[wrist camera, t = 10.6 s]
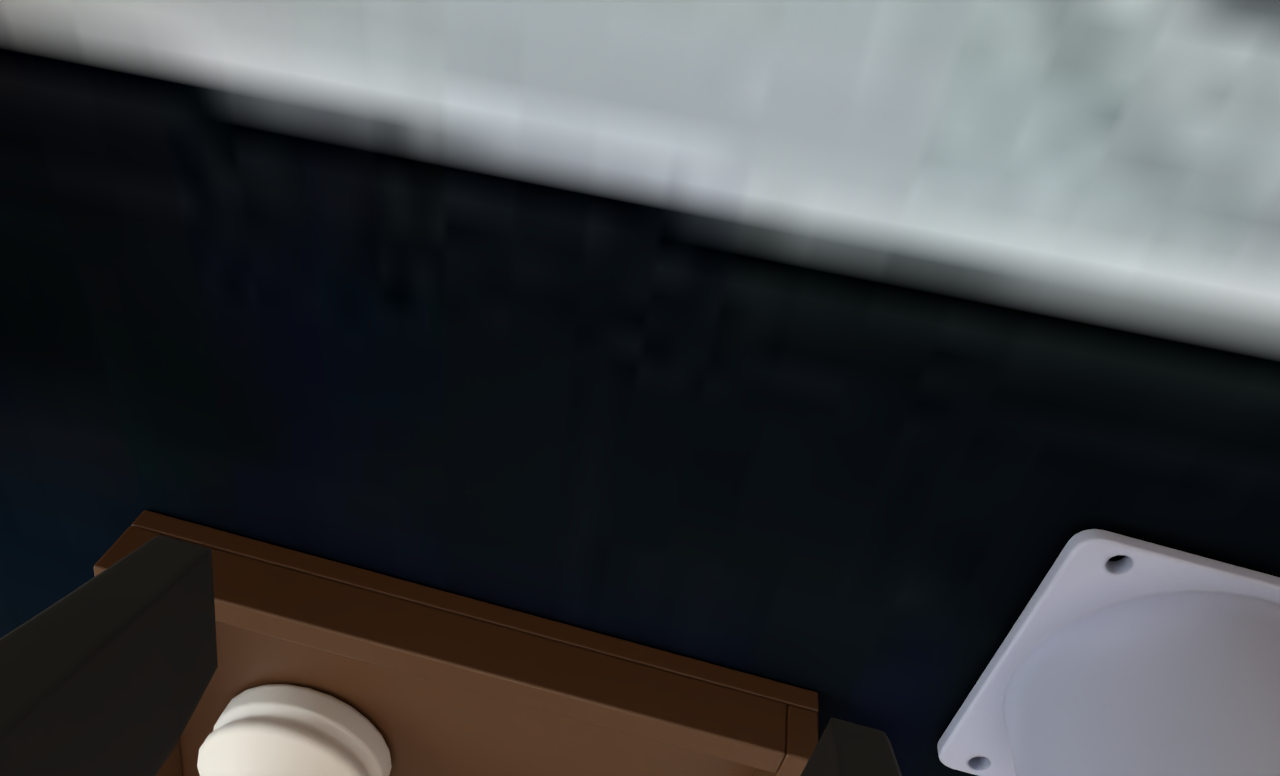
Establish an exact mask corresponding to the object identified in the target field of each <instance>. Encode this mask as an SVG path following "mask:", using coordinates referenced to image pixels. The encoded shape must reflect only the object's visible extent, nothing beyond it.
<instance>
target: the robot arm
mask: <svg viewBox="0 0 1280 776" xmlns="http://www.w3.org/2000/svg"><path fill="white" fill-rule="evenodd" d="M1117 555H1125V557H1124V558H1122V559H1121V560H1117V561H1108V560H1109V559H1110V558H1111V557H1114V556H1117ZM217 667H218V662H217V643H216V623H215V604H214V585H213V565H212V549H210V548H207V547H203V546H199V545H196V544H192V543H188V542H185V541H181V540H177V539H173V538H170V537H166V536H162V535H158V536H156V537H155V538H153V539H151V540H149V541H148V542H146V543H145V544H143V545H142V546H140V547H139V548H137V549H136V550H134V551H133V552H131V553H130V554H128V555H127V556H125V557H124V558H122V559H121V560H119V561H118V562H116V563H115V564H113V565H112V566H110V567H109V568H107V569H106V570H104V571H103V572H101V573H100V574H98V575H97V576H95V577H94V578H92V579H91V580H89V581H88V582H86V583H85V584H83V585H82V586H80V587H79V588H77V589H76V590H74V591H73V592H71V593H70V594H68V595H67V596H65V597H64V598H62V599H61V600H59V601H58V602H56V603H55V604H53V605H52V606H50V607H48V608H47V609H45V610H44V611H42V612H41V613H39V614H38V615H36V616H35V617H33V618H32V619H30V620H29V621H27V622H26V623H24V624H22V625H21V626H19V627H18V628H16V629H14V630H13V631H11V632H10V633H8V634H7V635H5V636H3V637H2V638H0V776H156V774H157V773H158V771H159V770H160V768H161V767H162V765H163V764H164V762H165V761H166V760H167V758H168V757H169V755H170V754H171V752H172V751H173V749H174V747H175V745H176V743H177V742H178V740H179V738H180V736H181V734H182V733H183V731H184V729H185V727H186V725H187V724H188V722H189V720H190V718H191V716H192V715H193V713H194V711H195V709H196V707H197V705H198V703H199V701H200V699H201V698H202V696H203V694H204V692H205V690H206V688H207V686H208V684H209V682H210V680H211V678H212V676H213V675H214V673H215V671H216V669H217ZM937 748H938V755H939V759H940V761H941V762H942V763H943V764H944V765H945V766H947V767H950V768H952V769H956V770H959V771H963V772H967V773H970V774H974V775H978V776H1280V577H1276V576H1272V575H1269V574H1265V573H1261V572H1258V571H1254V570H1250V569H1246V568H1243V567H1239V566H1235V565H1232V564H1228V563H1224V562H1220V561H1217V560H1213V559H1209V558H1206V557H1202V556H1198V555H1195V554H1191V553H1187V552H1183V551H1180V550H1176V549H1172V548H1169V547H1165V546H1161V545H1157V544H1154V543H1150V542H1146V541H1143V540H1139V539H1135V538H1132V537H1128V536H1124V535H1120V534H1117V533H1113V532H1109V531H1106V530H1100V529H1089V530H1083V531H1081V532H1079V533H1077V534H1075V535H1074V536H1073V537H1072V538H1071V539H1070V540H1069V541H1068V542H1067V544H1066V545H1065V547H1064V549H1063V550H1062V552H1061V553H1060V555H1059V556H1058V558H1057V559H1056V561H1055V562H1054V564H1053V566H1052V567H1051V569H1050V570H1049V572H1048V573H1047V575H1046V576H1045V578H1044V579H1043V581H1042V582H1041V584H1040V586H1039V587H1038V589H1037V590H1036V592H1035V593H1034V595H1033V596H1032V598H1031V599H1030V601H1029V602H1028V604H1027V606H1026V607H1025V609H1024V610H1023V612H1022V613H1021V615H1020V616H1019V618H1018V619H1017V621H1016V623H1015V624H1014V626H1013V627H1012V629H1011V630H1010V632H1009V633H1008V635H1007V636H1006V638H1005V639H1004V641H1003V643H1002V644H1001V646H1000V647H999V649H998V650H997V652H996V653H995V655H994V656H993V658H992V660H991V661H990V663H989V664H988V666H987V667H986V669H985V670H984V672H983V673H982V675H981V676H980V678H979V680H978V681H977V683H976V684H975V686H974V687H973V689H972V690H971V692H970V693H969V695H968V696H967V698H966V700H965V701H964V703H963V704H962V706H961V707H960V709H959V710H958V712H957V713H956V715H955V717H954V718H953V720H952V721H951V723H950V724H949V726H948V727H947V729H946V730H945V732H944V733H943V735H942V737H941V738H940V740H939V742H938V745H937ZM978 756H979V757H978ZM800 776H902V775H901V772H900V769H899V766H898V763H897V761H896V758H895V755H894V752H893V749H892V746H891V743H890V740H889V739H888V737H887V735H886V734H885V732H884V731H880V730H877V729H873V728H869V727H865V726H862V725H858V724H854V723H851V722H847V721H843V720H840V719H836V718H832V717H831V719H830V721H829V723H828V725H827V727H826V728H825V730H824V732H823V734H822V736H821V738H820V740H819V742H818V744H817V745H816V747H815V749H814V751H813V753H812V755H811V757H810V759H809V760H808V762H807V764H806V766H805V768H804V770H803V772H802V774H801V775H800Z"/></svg>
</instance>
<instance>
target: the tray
mask: <svg viewBox="0 0 1280 776" xmlns="http://www.w3.org/2000/svg"><path fill="white" fill-rule="evenodd" d="M158 535H162V536H166V537H170V538H173V539H177V540H181V541H185V542H188V543H192V544H196V545H199V546H203V547H207V548H210V549H212V565H213V585H214V604H215V623H216V643H217V662H218V667H217V669H216V671H215V673H214V675H213V676H212V678H211V680H210V682H209V684H208V686H207V688H206V690H205V692H204V694H203V696H202V698H201V699H200V701H199V703H198V705H197V707H196V709H195V711H194V713H193V715H192V716H191V718H190V720H189V722H188V724H187V725H186V727H185V729H184V731H183V733H182V734H181V736H180V738H179V740H178V742H177V743H176V745H175V747H174V749H173V751H172V752H171V754H170V755H169V757H168V758H167V760H166V761H165V762H164V764H163V765H162V767H161V768H160V770H159V771H158V773H157V774H156V776H200V774H199V771H198V768H197V762H198V753H199V749H200V747H201V745H202V744H203V742H204V741H205V739H206V738H207V737H208V735H209V734H210V733H212V732H213V729H214V725H215V724H216V722H217V720H218V719H219V717H220V716H221V714H222V713H223V711H224V710H225V708H226V707H227V705H228V704H229V702H230V701H231V699H232V698H234V697H236V696H237V695H239V694H240V693H242V692H243V691H245V690H247V689H250V688H254V687H258V686H262V685H266V684H289V685H295V686H301V687H306V688H311V689H314V690H316V691H319V692H322V693H325V694H328V695H331V696H333V697H335V698H337V699H338V700H340V701H342V702H344V703H346V704H348V705H350V706H352V707H353V708H354V709H355V710H357V711H358V712H359V713H361V714H362V715H363V716H364V717H366V718H367V719H368V720H369V721H370V722H371V723H372V724H373V725H374V727H375V728H376V729H377V730H378V731H379V732H380V733H381V735H382V736H383V738H384V740H385V742H386V744H387V746H388V748H389V751H390V757H391V765H392V768H391V771H390V775H389V776H800V775H801V774H802V772H803V770H804V768H805V766H806V764H807V762H808V760H809V759H810V757H811V755H812V753H813V751H814V749H815V747H816V745H817V744H818V714H817V713H818V693H817V692H814V691H810V690H807V689H803V688H799V687H796V686H792V685H788V684H784V683H781V682H777V681H773V680H770V679H766V678H762V677H759V676H755V675H751V674H748V673H744V672H740V671H737V670H733V669H729V668H726V667H722V666H718V665H715V664H711V663H707V662H703V661H700V660H696V659H692V658H689V657H685V656H681V655H678V654H674V653H670V652H667V651H663V650H659V649H656V648H652V647H648V646H645V645H641V644H637V643H633V642H630V641H626V640H622V639H619V638H615V637H611V636H608V635H604V634H600V633H597V632H593V631H589V630H586V629H582V628H578V627H575V626H571V625H567V624H564V623H560V622H556V621H552V620H549V619H545V618H541V617H538V616H534V615H530V614H527V613H523V612H519V611H516V610H512V609H508V608H505V607H501V606H497V605H494V604H490V603H486V602H482V601H479V600H475V599H471V598H468V597H464V596H460V595H457V594H453V593H449V592H446V591H442V590H438V589H435V588H431V587H427V586H424V585H420V584H416V583H413V582H409V581H405V580H401V579H398V578H394V577H390V576H387V575H383V574H379V573H376V572H372V571H368V570H365V569H361V568H357V567H354V566H350V565H346V564H343V563H339V562H335V561H331V560H328V559H324V558H320V557H317V556H313V555H309V554H306V553H302V552H298V551H295V550H291V549H287V548H284V547H280V546H276V545H273V544H269V543H265V542H262V541H258V540H254V539H250V538H247V537H243V536H239V535H236V534H232V533H228V532H225V531H221V530H217V529H214V528H210V527H206V526H203V525H199V524H195V523H192V522H188V521H184V520H180V519H177V518H173V517H169V516H166V515H162V514H158V513H155V512H151V511H147V510H144V511H143V512H142V513H141V514H140V515H139V517H138V518H137V519H136V520H135V521H134V522H133V523H132V526H130V527H129V528H128V529H127V530H126V531H125V532H124V533H123V534H122V535H121V537H120V538H119V539H118V540H117V541H116V542H115V543H114V544H113V545H112V546H111V548H110V549H109V550H108V551H107V552H106V553H105V554H104V555H103V556H102V557H101V558H100V560H99V561H98V562H97V563H96V564H95V565H94V574H95V576H97V575H98V574H100V573H101V572H103V571H104V570H106V569H107V568H109V567H110V566H112V565H113V564H115V563H116V562H118V561H119V560H121V559H122V558H124V557H125V556H127V555H128V554H130V553H131V552H133V551H134V550H136V549H137V548H139V547H140V546H142V545H143V544H145V543H146V542H148V541H149V540H151V539H153V538H155V537H156V536H158Z"/></svg>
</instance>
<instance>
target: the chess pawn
mask: <svg viewBox="0 0 1280 776" xmlns="http://www.w3.org/2000/svg"><path fill="white" fill-rule="evenodd" d="M197 768H198V771H199V774H200V776H389V775H390V771H391V768H392V765H391V757H390V751H389V748H388V746H387V744H386V742H385V740H384V738H383V736H382V735H381V733H380V732H379V731H378V730H377V729H376V728H375V727H374V725H373V724H372V723H371V722H370V721H369V720H368V719H367V718H366V717H364V716H363V715H362V714H361V713H359V712H358V711H357V710H355V709H354V708H353V707H352V706H350V705H348V704H346V703H344V702H342V701H340V700H338V699H337V698H335V697H333V696H331V695H328V694H325V693H322V692H319V691H316V690H314V689H311V688H306V687H301V686H295V685H289V684H266V685H262V686H258V687H254V688H250V689H247V690H245V691H243V692H242V693H240V694H239V695H237V696H236V697H234V698H232V699H231V701H230V702H229V704H228V705H227V707H226V708H225V710H224V711H223V713H222V714H221V716H220V717H219V719H218V720H217V722H216V724H215V725H214V729H213V732H212V733H210V734H209V735H208V737H207V738H206V739H205V741H204V742H203V744H202V745H201V747H200V749H199V753H198V762H197Z"/></svg>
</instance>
